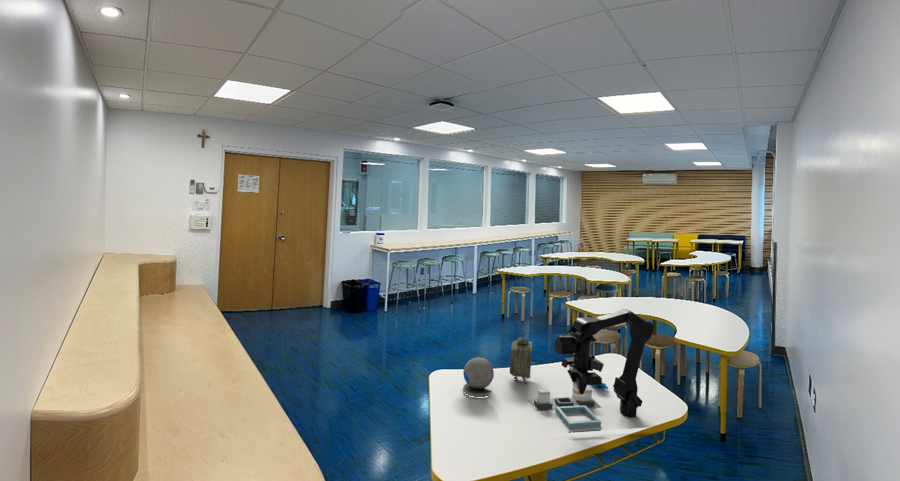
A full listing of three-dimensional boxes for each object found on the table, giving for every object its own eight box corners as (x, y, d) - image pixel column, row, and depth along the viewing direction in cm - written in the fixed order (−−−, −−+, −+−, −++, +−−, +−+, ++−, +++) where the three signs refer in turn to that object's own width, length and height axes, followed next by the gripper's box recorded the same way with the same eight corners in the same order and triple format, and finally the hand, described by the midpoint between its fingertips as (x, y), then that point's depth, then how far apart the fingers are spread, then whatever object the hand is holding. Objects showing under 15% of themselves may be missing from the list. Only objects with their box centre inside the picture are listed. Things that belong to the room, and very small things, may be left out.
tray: (600, 430, 162) (601, 421, 162) (568, 432, 160) (569, 423, 160) (584, 413, 174) (585, 405, 174) (555, 415, 172) (555, 406, 172)
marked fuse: (585, 399, 165) (586, 384, 164) (575, 400, 164) (576, 385, 163) (581, 396, 168) (582, 381, 167) (572, 397, 167) (573, 382, 166)
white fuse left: (549, 406, 176) (550, 391, 175) (539, 406, 175) (540, 392, 175) (546, 402, 179) (547, 388, 178) (537, 403, 178) (537, 389, 177)
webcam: (497, 396, 186) (499, 362, 185) (470, 400, 182) (471, 366, 180) (484, 383, 198) (485, 351, 197) (458, 387, 194) (459, 354, 192)
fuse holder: (601, 410, 177) (602, 403, 176) (535, 414, 172) (535, 407, 172) (590, 400, 186) (591, 393, 185) (527, 403, 181) (527, 396, 181)
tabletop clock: (529, 388, 195) (532, 333, 192) (508, 386, 196) (511, 331, 194) (530, 375, 209) (533, 324, 206) (511, 373, 211) (513, 322, 208)
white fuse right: (591, 403, 179) (592, 389, 178) (581, 404, 178) (582, 390, 178) (588, 400, 182) (589, 386, 181) (578, 401, 181) (579, 387, 180)
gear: (613, 390, 192) (599, 376, 190) (605, 401, 190) (591, 387, 188) (596, 383, 202) (583, 369, 200) (589, 393, 201) (575, 379, 198)
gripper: (616, 360, 157) (613, 402, 159) (587, 342, 175) (584, 380, 177) (588, 362, 154) (585, 405, 156) (562, 344, 172) (559, 382, 174)
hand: (579, 392), depth 166 cm, fingers closed on marked fuse, 3 cm apart
